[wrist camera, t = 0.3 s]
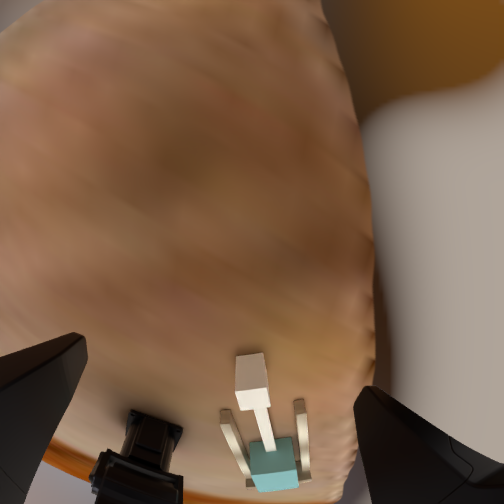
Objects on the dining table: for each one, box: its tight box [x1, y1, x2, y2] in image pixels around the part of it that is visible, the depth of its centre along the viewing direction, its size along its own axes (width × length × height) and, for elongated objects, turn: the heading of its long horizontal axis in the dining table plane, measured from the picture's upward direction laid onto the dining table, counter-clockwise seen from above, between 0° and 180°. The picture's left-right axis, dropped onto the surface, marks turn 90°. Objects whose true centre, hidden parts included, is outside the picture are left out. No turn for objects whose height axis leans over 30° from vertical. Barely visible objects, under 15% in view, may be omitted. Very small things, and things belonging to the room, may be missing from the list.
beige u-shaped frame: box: [220, 399, 312, 490], centre depth 26 cm, size 15×9×4 cm, turn 10°
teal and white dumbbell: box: [235, 353, 299, 492], centre depth 24 cm, size 20×5×5 cm, turn 10°
